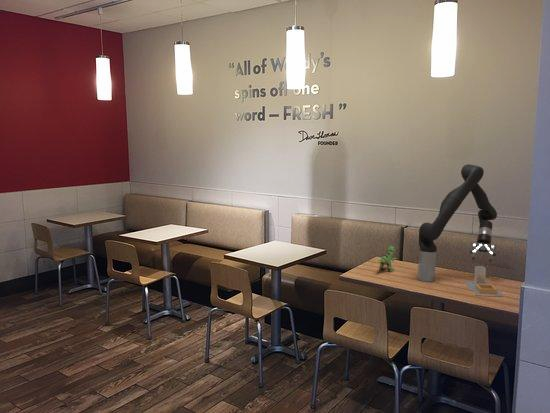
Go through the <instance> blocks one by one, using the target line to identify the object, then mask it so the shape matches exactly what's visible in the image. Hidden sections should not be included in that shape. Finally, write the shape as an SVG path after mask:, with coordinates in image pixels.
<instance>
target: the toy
mask: <svg viewBox="0 0 550 413" xmlns="http://www.w3.org/2000/svg"><path fill="white" fill-rule="evenodd" d="M387 251H388V253H386V254H384V255H382V256H381V258H380V259H379V260H378V263H379V266H378V269H379V271H382V270H386V269H385V268H386V267H384V266H387V270H388V273H394V272H395V269H392V262H395V260H397V257H396V256H395V257H393V254H394V252H395V246H393V245H388V248H387Z"/></svg>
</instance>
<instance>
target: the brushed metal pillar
mask: <svg viewBox="0 0 550 413" xmlns="http://www.w3.org/2000/svg"><path fill="white" fill-rule="evenodd" d="M486 273H487V268H486V267H485V266H481V265H475V266H474V279H473V282H474V284H485V283H486V275H487V274H486Z"/></svg>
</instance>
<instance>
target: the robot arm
mask: <svg viewBox="0 0 550 413" xmlns="http://www.w3.org/2000/svg"><path fill="white" fill-rule="evenodd" d="M484 172H485V170H484V168H483V167H481V166H479V165H474V164H464V165H463V166H462V168H461V170H460V175H461V177H462V179H463V181H464V182H463V183H461V185H459V186H458V187H456V188H454V189H452V190H451V191H449V192H448V193H447V194H446V196H445V197H444V198H443V200H442V201H441V203H440V207H439V212H438V215H437V216H436V217H435V220H434V221H433V222H432V223H431V222H424V223H422V224H421V225H420V226H419V230H418V245H419V258H418V260H419V261H418V264H417V265H418V266H417V279H418V281H421V282H422V281H423V282H428V283H429V282H435V280H436V269H437V268H436V266H437V251H438V250H437V246H436V244H435V242H434V241H436V240H438V239H439V238H440V236H441V234H442V233H443V231H444V229H445V227H446V226H447V224H448V223H449V221H450V220H451V219H452V217H453V215H454V214H455V212H457V210H458V209H459V207H460V206H461V205H462V203H463V202H464V200H465V199H466V198H467V196H468V195H469V194H470V193H471V194H472V196H473V198H474V202H475V203H476V206H477V208H478V209H479V210H478V212H477V218H478V220H479V226H478V227H479V228H478V232H477V238H476V243H474V242H470V247H469V253H470V254H471V259H473V261H474V260H475V257H476V254H478V253H479V252H481V253H482V252H483V253H487V254H488V255H489V257H488V258H489V259H488V262H489V263H490V262H492V260H493V257H496V256H497V245H496V244H494V245H492V239H493V238H492V237H493V222H492V221H494V220H496V219H497V217H498V212H497V210H496V208H495V207H494V206H493V205H492V203H491V202H490V200H489V197H488V195H487V193H486V192H485V190H484V189H483V188H482V187H481V185H480V184H479V183H480V181H481V180H482V179H483V177H484ZM473 248H474V250H473ZM491 249H492V250H493V251H492V250H491Z"/></svg>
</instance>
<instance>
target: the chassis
mask: <svg viewBox="0 0 550 413" xmlns="http://www.w3.org/2000/svg"><path fill="white" fill-rule="evenodd" d="M464 283H465V284H466V286H467V287H468V288H469V289H470V290H471V292H473V293H474V295H475V297H480V295H481V296H486V297H493V298H495V297H496V298H501V296H503V294H502V292H501V291H499V290H498V289H497V287H496V286H494V285H493V284H492V283H490V282H485V284H474V281H472V282H471V281H469V282H468V281H464Z"/></svg>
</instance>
